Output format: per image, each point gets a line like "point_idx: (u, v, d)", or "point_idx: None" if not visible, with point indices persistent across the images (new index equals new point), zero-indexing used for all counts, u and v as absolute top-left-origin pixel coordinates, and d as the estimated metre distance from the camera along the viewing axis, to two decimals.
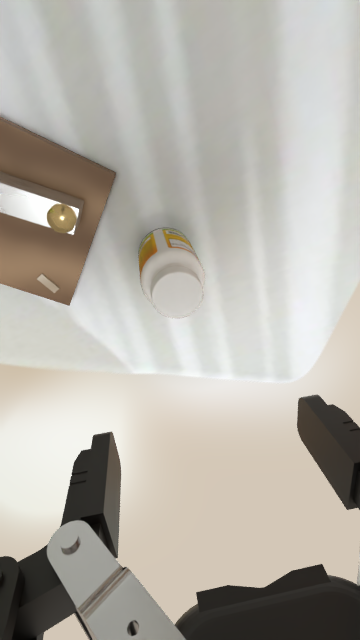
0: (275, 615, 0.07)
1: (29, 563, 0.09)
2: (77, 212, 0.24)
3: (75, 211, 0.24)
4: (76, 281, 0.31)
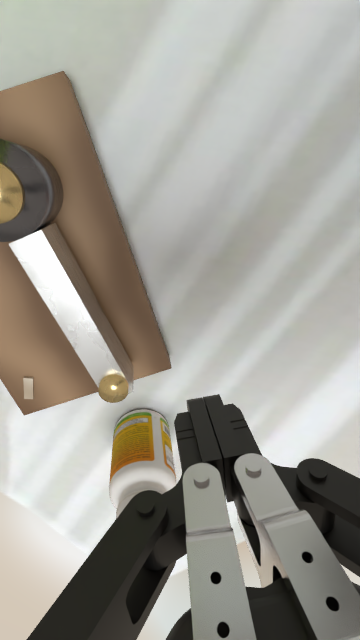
0: (275, 615, 0.07)
1: (165, 498, 0.10)
2: (129, 392, 0.23)
3: (128, 390, 0.23)
4: (54, 404, 0.27)
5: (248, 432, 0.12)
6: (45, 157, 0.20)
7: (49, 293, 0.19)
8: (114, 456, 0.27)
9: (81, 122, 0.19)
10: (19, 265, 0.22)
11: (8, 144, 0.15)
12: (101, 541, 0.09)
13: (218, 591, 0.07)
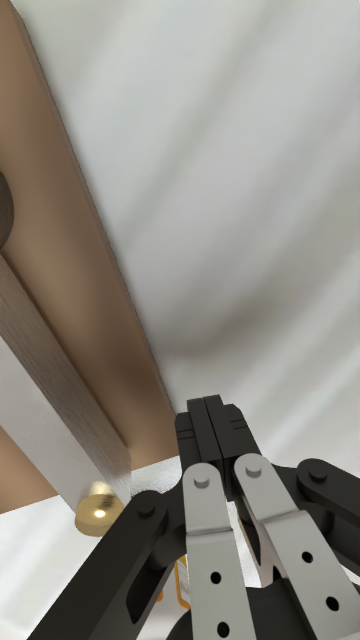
0: (275, 615, 0.07)
1: (165, 498, 0.10)
2: None
3: None
4: (17, 506, 0.19)
5: (248, 432, 0.12)
6: None
7: None
8: None
9: (39, 86, 0.11)
10: None
11: None
12: (101, 541, 0.09)
13: (218, 591, 0.07)
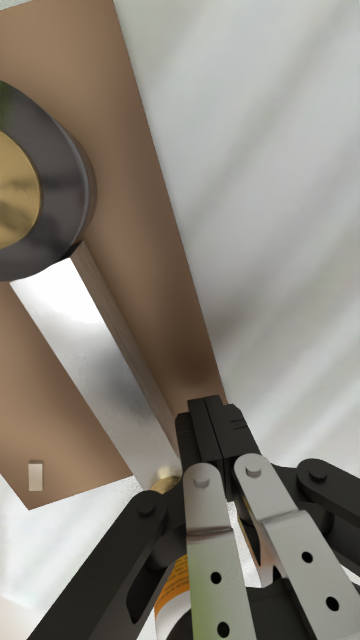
0: (275, 615, 0.07)
1: (165, 498, 0.10)
2: None
3: None
4: (72, 494, 0.19)
5: (248, 432, 0.12)
6: None
7: (79, 363, 0.11)
8: None
9: (132, 73, 0.12)
10: None
11: (14, 89, 0.08)
12: (101, 541, 0.09)
13: (218, 591, 0.07)
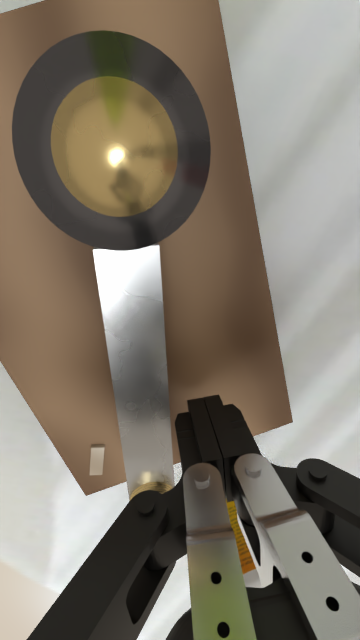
0: (275, 615, 0.07)
1: (166, 498, 0.10)
2: None
3: None
4: None
5: (248, 432, 0.12)
6: None
7: (123, 347, 0.11)
8: None
9: (224, 49, 0.12)
10: None
11: (186, 80, 0.08)
12: (101, 541, 0.09)
13: (218, 591, 0.07)
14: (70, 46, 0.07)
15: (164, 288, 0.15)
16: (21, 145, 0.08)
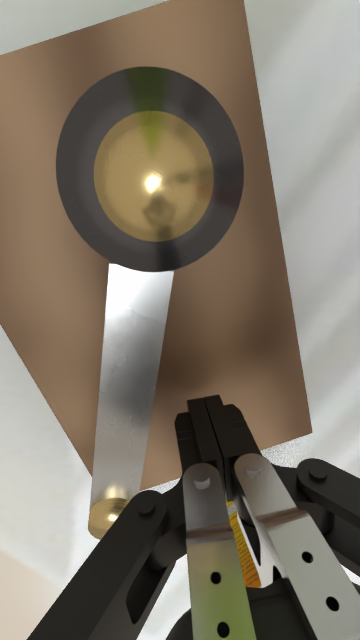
0: (275, 615, 0.07)
1: (165, 498, 0.10)
2: None
3: None
4: (150, 486, 0.19)
5: (248, 432, 0.12)
6: None
7: (117, 361, 0.11)
8: None
9: (252, 71, 0.12)
10: None
11: (232, 128, 0.08)
12: (101, 541, 0.09)
13: (218, 591, 0.07)
14: (132, 76, 0.08)
15: (188, 302, 0.15)
16: (64, 154, 0.08)
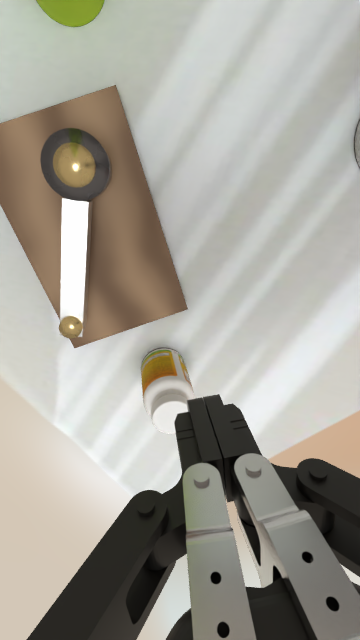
0: (275, 615, 0.07)
1: (165, 498, 0.10)
2: (79, 335, 0.30)
3: (79, 334, 0.30)
4: (98, 339, 0.35)
5: (248, 432, 0.12)
6: (109, 160, 0.28)
7: (68, 242, 0.27)
8: (145, 378, 0.35)
9: (126, 120, 0.28)
10: None
11: (102, 147, 0.24)
12: (101, 541, 0.09)
13: (218, 591, 0.07)
14: (65, 131, 0.23)
15: (108, 228, 0.31)
16: (43, 156, 0.24)
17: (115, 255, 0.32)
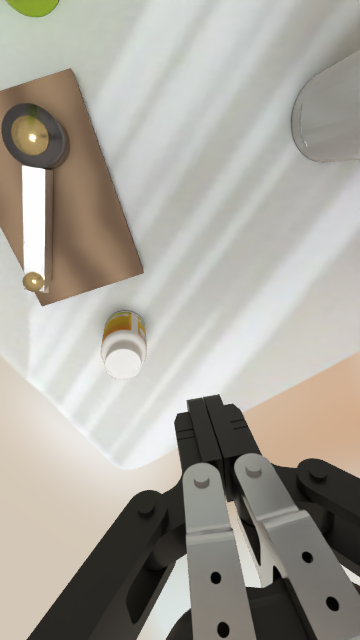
0: (275, 615, 0.07)
1: (165, 498, 0.10)
2: (41, 290, 0.34)
3: (41, 289, 0.34)
4: (63, 298, 0.39)
5: (248, 432, 0.12)
6: None
7: (28, 204, 0.31)
8: (104, 333, 0.39)
9: (81, 99, 0.32)
10: None
11: (54, 120, 0.28)
12: (101, 541, 0.09)
13: (218, 591, 0.07)
14: (21, 105, 0.28)
15: (69, 196, 0.35)
16: (3, 128, 0.28)
17: (76, 221, 0.36)
